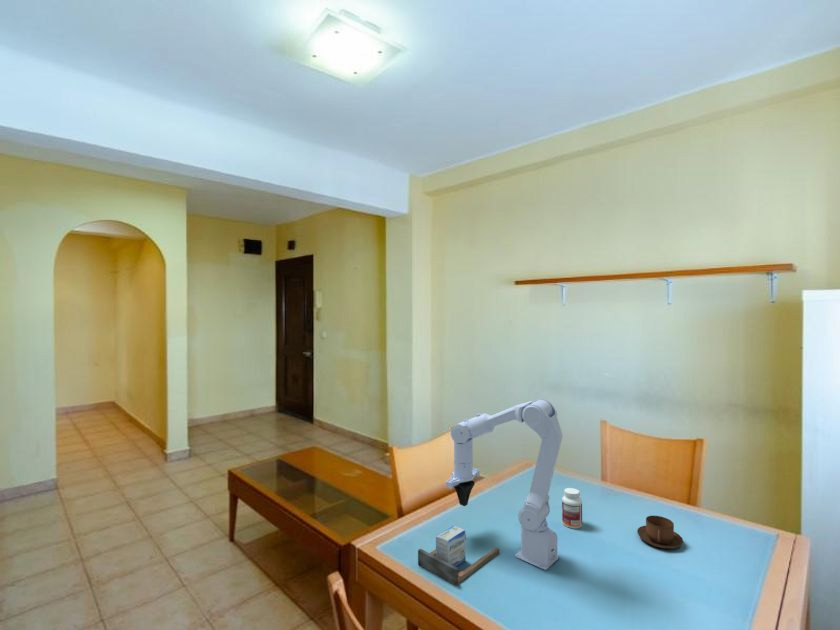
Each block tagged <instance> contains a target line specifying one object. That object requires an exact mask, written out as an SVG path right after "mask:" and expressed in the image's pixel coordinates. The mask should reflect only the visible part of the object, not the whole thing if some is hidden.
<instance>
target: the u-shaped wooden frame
mask: <svg viewBox="0 0 840 630" xmlns="http://www.w3.org/2000/svg"><path fill="white" fill-rule="evenodd" d="M466 537H467V534H466V533H465V539H466ZM498 554H500V548H499V547H496V546H495V547H493V548H492V549H491V550H489V552H487V553H485V554H483V556H481V557H480V558H479V559H477V560H476V561H475V562H474V563H472V564H470V565H469V566H468V567H466V568H465V569H463V570H461V571H460V572H459V568H458V566H457V567H455V566H453V565H451V564H449V563H447V562H445V561H443V560H441V559H440V558H438V557H436V548H435V549H434V550H432V551H431V552H428V551H426V550H424V549H422V548H420V549H418V550H417V565H418V566H420V567H421V568H424V569H426V570H427V571H429V572H431V573H432V574H434V575H436V576H438V577H440V578H442V579H444V580H445V581H447V582H449V583H450V584H452V585H454V586H457V585H459V584H460V583H461V582H462V581H464V580H465V579H467V578H468V577H469V576H470V575H472V574H473V573H474V572H476V571H477V570H479V569H480V568H481V567H482V566H484V565H485V564H487V563H488V562H489V561H490V560H492V559H493V558H495V557H496V556H497V555H498Z"/></svg>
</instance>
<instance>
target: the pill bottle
mask: <svg viewBox="0 0 840 630" xmlns="http://www.w3.org/2000/svg"><path fill="white" fill-rule="evenodd" d="M580 496H581V495H580V490H579V489H576V488H573V487H567V488H564V495H563V496H562V498H561V517H562V518H561V520H562V521H561V522H562V524H563V526H564V527H567V528H570V529H576V530H577V529H580V528H581V527H582V526H583V500H582V498H581V497H580Z"/></svg>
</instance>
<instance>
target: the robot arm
mask: <svg viewBox="0 0 840 630" xmlns="http://www.w3.org/2000/svg"><path fill="white" fill-rule="evenodd" d="M515 420H516V421H518V422H519V423H521V424H522V423H525V424H526V425H527V426H528V427H529V428H530V429H532V430H533V431H534V432H535V433H536V434H537V435H538V436H539V438H540V439H541V443H540V446H539V447H540V448H539V451H538V456H537V460H536V463H535V468H534V471H533V476H532V480H531V483H530V484H531V485H530V487H529V492H528V495H527V497H526V498H525V501H524V505H523V507H522V508H521V509H520V510H519V511H518V515H517V517H518V522H519V524H520V526H521V527H520V528H521V529H520V538H521V539H520V540H521V541H520V543H521V544H520V546H521V547H520V549H521V550H519V551H518V552H517V553H515V555H514V556H515V558H517V559H519V560H522V561H523V562H526V563H529V564H531V565H533V566H535V567H537V568H540V569H542V570H545V571H546V570H548V569H549V568H551V566H552V565H553V564H554V563H555V562H556V561H557V560H559V559H560V558H559V556H558V534H557V533H556V532H555V531H553V530H552V529H551V528H550V527H549V526H548V521H547V517H548V516H549V514H550V511H551V508H550V504H549V503H550V502H549V501H550V495H549V492H550V488H551V484H552V481H553V476H554V473H555V469H556V464H557V460H558V456H559V451H560V448H561V444H562V439H563V432H562V429H561V426H560V423H559V418H558V411H557V409H556V407H554V406H553V404H552V402H550V401H549V400H547V399H545V398H538V399H536V400H535V401H533V400H531V401H527V402H523V403H519V404H516V405H513V406H511V407H509V408H507V409H504V410H502V411H499V412H497V413H495V414H492V415H490V414H489V413H486V412H484V413H482V412H479V413H476V416H474V417H472V418H467V417H466V418H465V419H463V421H461V422H459V423H456V424H455V425H453V426H452V427H451V429H450V436H451V439H452V440H453V462H454V463H453V471H452V472H451V476H450V477H449V479H447V480H446V481H445V488H447V489H450V490H453V489H454V490H455V492H456V496H457V499H458V502H459V505H460V506H463V507H467V505H468V504H469V500H470V495H471V492H472V490H473V488H474V486H475V484H476V483H475V481H474V480H473V479H474V478H475V477H479V476H480V473H481V472H480V469H479V468H475V467H473V463H474V462H473V459H474V457H473V455H474V454H473V453H474V452H473V450H474V449H473V440H474V439H476V438H479V437H482V436H484V435H487V434H489V433H493V431H494V429H495V427H496V426H499V425H502V424H505V423H508V422H511V421H515Z"/></svg>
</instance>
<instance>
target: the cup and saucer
mask: <svg viewBox="0 0 840 630" xmlns="http://www.w3.org/2000/svg"><path fill="white" fill-rule="evenodd" d="M674 525H675V524H674V522H673V521H672V520H671V519H668V518H667V517H663V516H661V515H648V516H646V517H645V525H642V526H640V527H638V528H637V531H636V532H637V536H638V537H639V538H640V539H642V540H643V541H644V542H645V543H647V544H649V545H651V546H653V547H656V548H660V549H676V548H679V547H681V546H682V545H683V543H684V540H683V539H684V538H683V537H682V536H681V535H680V534H679V533H677V532H676V531H675V530H674V528H675V526H674Z"/></svg>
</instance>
